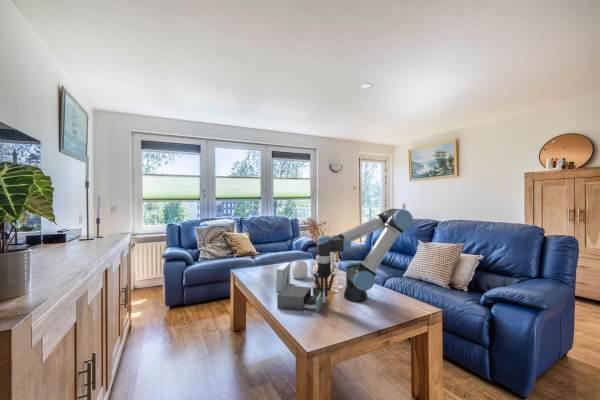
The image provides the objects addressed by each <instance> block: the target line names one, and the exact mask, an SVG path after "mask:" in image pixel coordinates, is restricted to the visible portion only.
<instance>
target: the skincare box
mask: <svg viewBox="0 0 600 400" xmlns="http://www.w3.org/2000/svg"><path fill="white" fill-rule="evenodd" d="M275 281H276V282H275V283H276V284H275V287H276V288H275V292H276V293H280V292H281V291H282V290H283V289H284V288H285V287H286V286H287V285H288V286H290V283H291V262H283V263H282V264H281V265H280V266H278V268H276V280H275Z"/></svg>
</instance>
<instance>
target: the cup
mask: <svg viewBox="0 0 600 400" xmlns="http://www.w3.org/2000/svg"><path fill="white" fill-rule="evenodd" d="M308 270H309V269H308V264H307V262H306V261H305V260H300V259H298V260H294V261H293V264H292V266H291V276H292V277H293V278H295V279H297V280H303V279H305V278H307V276H308V272H309V271H308Z"/></svg>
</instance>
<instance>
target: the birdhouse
mask: <svg viewBox="0 0 600 400" xmlns="http://www.w3.org/2000/svg"><path fill="white" fill-rule="evenodd" d="M305 297H307V296H305ZM322 306H323V297H322V296H321V292H320V294H319V295H318V297H317V299H316V304H314V305H308V304H306V303H305V298H304V308H306V309H312V310H315V313H319V311H320V309H321V307H322Z"/></svg>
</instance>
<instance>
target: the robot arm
mask: <svg viewBox="0 0 600 400" xmlns="http://www.w3.org/2000/svg"><path fill="white" fill-rule="evenodd" d="M413 222H414V218H413V215H412V213H411V212H410V211H408V210H407V209H403V208H390V209H387V210H385V211H383V212H381V213H380V214H377V215H376V216H375V218H372V219H370V220H368V221H366V222H364V223H362V224H360V225H357V226H355V227H352V228H350V229H348V230H346V231H343V232H341V233H339V234H337V235H332V236H330V235H319V236H318V237H317V270H316V272H314V273H313V274H312V275H313V277H314V278H315V279H314V280H315V284H316V286H317V288H318V290H320V291H321V296H322V297H323V303H324V304H326V302H327V297H328V296H329V295H328V292H330V291H331V289H332V285H333V281H334V278H335V276H336V274H335V273H333V272H332V270H331V268H332V267H331V264H332V263H331V258H332V256H331V253H347V252H348V253H349V252H350V251H352V242H355V241H357V240H359V239H360V238H361V239H362V238H363V237H366V236H367V235H370V234H372V233H374V232H376V231H378V230H380V229H382V232H381V233H380V235H379V237H378V238H377V240H376V242H374V245H372V247H371V249H370V251H369V252H368V253H367V255H366V257H365V258H364V260H363V261H347V262H346V263H345V278H346V279H345V282H346V283H345V288H344V291H343V298H344V299H345V300H347V301H349V302H354V303H357V302H358V303H359V302H360V303H361V302H365V301H367V300H368V292H367V291H369V290H371V289H372V288H373V287H374V285H375V283H376V281H375V277H376V276H377V274H378V271H377V269H378V268H379V266H380V265H381V263H382V262H383V260H384V258H385V257H386V255H387V254H388V252H389V251H390V249H391V247H392V246H393V244H394V242H395V241H396V240H397V239H398V237H399V236H402V235H403V234H404V232H405V230H409V229H410V228H411V227H412V225H413ZM319 277H320V280H319ZM329 277H330V279H329ZM328 280H329V281H328ZM320 286H321V287H320ZM323 303H322V304H323Z"/></svg>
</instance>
